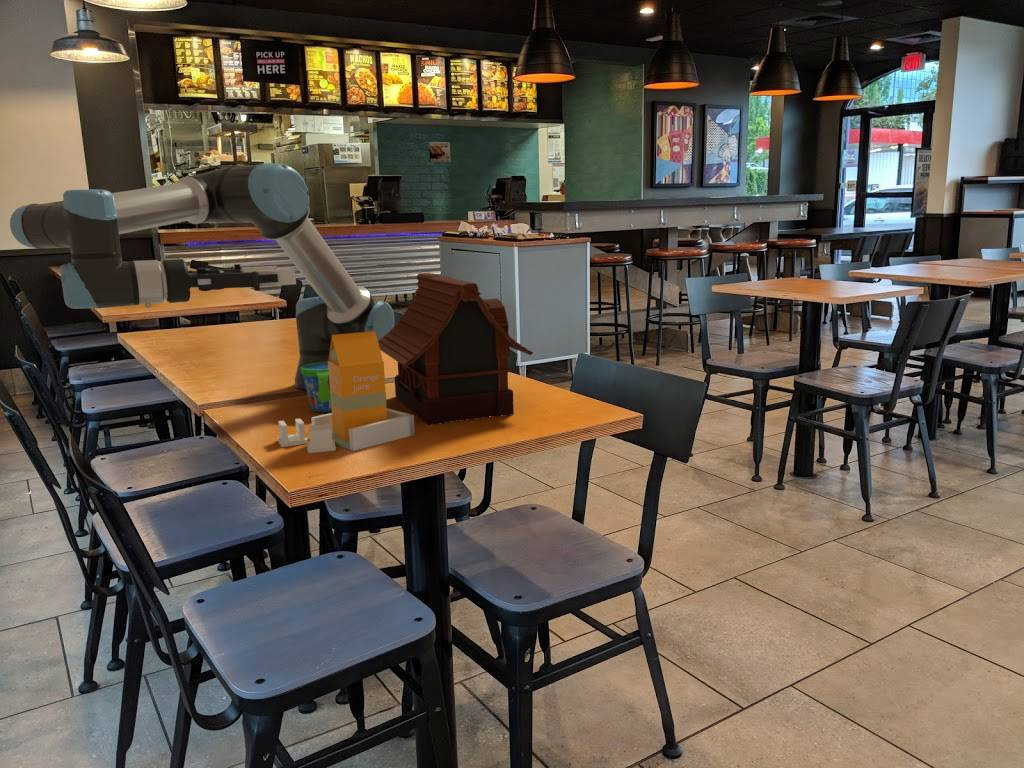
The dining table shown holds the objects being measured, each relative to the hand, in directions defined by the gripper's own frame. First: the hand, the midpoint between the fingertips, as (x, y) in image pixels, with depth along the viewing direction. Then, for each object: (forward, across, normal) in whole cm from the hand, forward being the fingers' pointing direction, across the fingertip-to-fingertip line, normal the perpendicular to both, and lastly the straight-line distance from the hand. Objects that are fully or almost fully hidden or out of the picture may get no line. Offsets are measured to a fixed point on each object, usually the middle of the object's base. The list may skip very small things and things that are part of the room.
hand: (285, 274), depth 146 cm
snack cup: (+12, -21, -32) cm, 40 cm away
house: (+37, -9, -32) cm, 50 cm away
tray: (+11, +6, -32) cm, 34 cm away
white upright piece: (+2, +9, -32) cm, 33 cm away
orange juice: (+10, +6, -32) cm, 34 cm away
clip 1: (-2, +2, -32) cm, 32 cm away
